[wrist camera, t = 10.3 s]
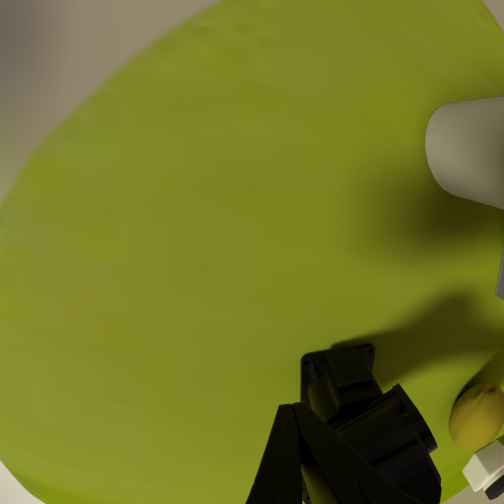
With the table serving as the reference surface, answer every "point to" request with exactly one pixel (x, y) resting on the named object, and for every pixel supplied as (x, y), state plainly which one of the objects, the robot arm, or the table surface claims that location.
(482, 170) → the can
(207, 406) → the table surface
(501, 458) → the medicine bottle
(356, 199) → the table surface
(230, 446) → the table surface
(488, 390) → the lemon
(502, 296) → the gauge bench
